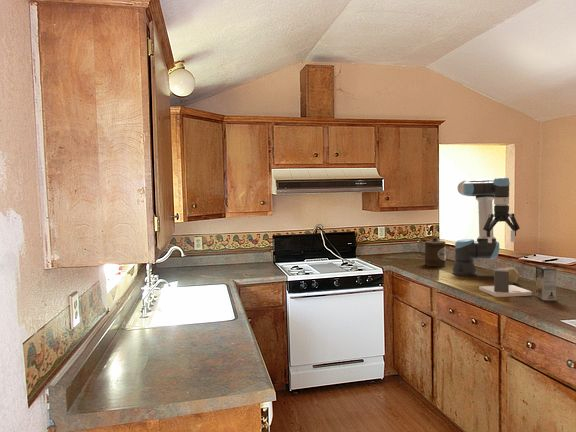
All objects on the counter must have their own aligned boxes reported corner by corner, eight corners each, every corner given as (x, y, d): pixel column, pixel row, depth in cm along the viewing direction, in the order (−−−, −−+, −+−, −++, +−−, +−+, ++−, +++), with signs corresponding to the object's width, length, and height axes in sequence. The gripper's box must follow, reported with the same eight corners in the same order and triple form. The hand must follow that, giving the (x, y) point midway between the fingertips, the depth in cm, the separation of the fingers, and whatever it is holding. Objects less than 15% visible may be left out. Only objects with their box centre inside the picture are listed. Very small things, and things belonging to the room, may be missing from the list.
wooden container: (443, 267, 295) (443, 238, 293) (423, 266, 302) (423, 237, 301) (446, 264, 307) (446, 235, 306) (426, 263, 315) (426, 235, 314)
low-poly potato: (516, 281, 245) (498, 271, 251) (525, 268, 239) (505, 258, 245) (508, 293, 235) (489, 282, 241) (517, 279, 229) (497, 268, 235)
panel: (479, 289, 226) (479, 277, 226) (512, 288, 228) (512, 276, 227) (496, 297, 210) (496, 283, 210) (531, 295, 212) (532, 282, 212)
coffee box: (534, 295, 211) (535, 265, 210) (548, 296, 210) (548, 265, 209) (542, 300, 202) (543, 269, 201) (556, 300, 201) (557, 269, 200)
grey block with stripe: (494, 291, 214) (494, 269, 214) (494, 288, 220) (494, 267, 219) (508, 292, 211) (508, 270, 211) (507, 289, 217) (507, 268, 217)
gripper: (484, 205, 220) (484, 243, 221) (527, 204, 222) (526, 242, 223) (476, 205, 227) (476, 242, 229) (518, 204, 229) (517, 240, 231)
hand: (501, 242), depth 226 cm, fingers open, 13 cm apart
